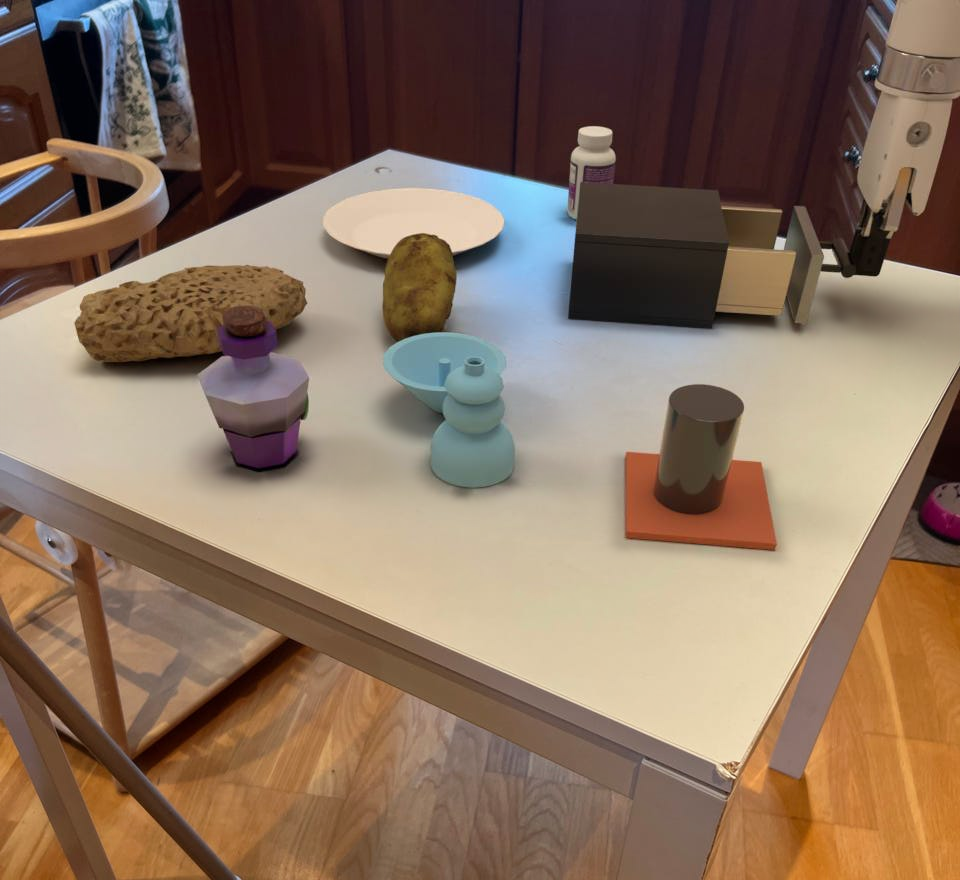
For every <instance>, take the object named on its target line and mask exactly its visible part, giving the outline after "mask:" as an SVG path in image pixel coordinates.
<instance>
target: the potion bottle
mask: <svg viewBox="0 0 960 880" xmlns="http://www.w3.org/2000/svg"><path fill="white" fill-rule="evenodd" d="M222 319H223V323H224V325H222V326H221V327H219V328H218V329H217V334H218V340H219V345H220V347H221V350H222V355H221V356H220V357H219V358H217V359H216V360H215V361H214V362H212V363H211V364H210V365H208V366H207V367H206V368H204V369H202V371H199V373H197V378H198V381H199V383H200V386H201V388H202V391H203V393H204V396H205V398H206V401H207V403H208V405H209V407H210V410H211V412H212V414H213V417H214V419H215V422H216V424H217V426H218V429H222V431H223V433H224V435H225V438H226V440H227V442H228V444H229V447H230V449H231V451H230V455H231V457H232V460H233V462H234V465H235V467H238V468H239V467H240V468H243V469H245V470H246V469H247V470H250V471H253V472H257V473H261V472H266V471H272V470H276V469H277V470H278V469H282V468H286V467H287V466H288V465H289V464H290V463H291V462H293V460H294V459H295V458H297V456H299V455H300V452H299V451H298V442H299V433H300V426H301V421H305V420H306V419H307V417H308V414H309V407H310V406H309V405H310V404H309V403H310V402H309V401H310V400H309V393H308V391H309V390H308V389H309V382H310V377H309V374H308V372H307V371H306V369H305V367H304V366H303V363H302V362H301V360H300V358H298V357H294V356H290V355H286V354H282V353H277V352H273V351H274V350H275V349H277V348H278V347H279V344H278V337H277V329H276V330H275V328H274V326H273V325H272V323H271V321H267V320H266V317H265V315H264V314H263V310H262V309H261V308H259V307H257V306H236V307H232V308H230V309H227V310H226V311H225V312H224V313H223V315H222Z"/></svg>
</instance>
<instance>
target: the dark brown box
mask: <svg viewBox="0 0 960 880" xmlns="http://www.w3.org/2000/svg"><path fill="white" fill-rule="evenodd" d="M721 206H722V202H721V199H720V194H719V190H717V189H705V188H703V189H701V188H687V187H686V188H683V187H671V186H669V187H667V186H651V185H636V184H635V185H634V184H618V183H613V184H603V183H586V182H580V191H579V201H578V212H577V220H576V224H575V233H574V247H573V257H572V269H571V279H570V288H569V289H570V290H569V303H568V313H567V319H568V320H581V321H596V322H597V321H598V322H612V323H624V324H625V323H627V324H640V325H656V326H670V327H683V328H685V327H686V328H698V329H713V326H714V321H715V317H716V307H717V302H718V297H719V292H720V287H721V281H722V276H723V271H724V266H725V261H726V256H727V250H728V246H729V241H728V237H727V232H726V227H725V222H724V217H723V212H722V208H721Z"/></svg>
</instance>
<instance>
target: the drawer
mask: <svg viewBox="0 0 960 880" xmlns="http://www.w3.org/2000/svg"><path fill="white" fill-rule="evenodd" d="M721 208H722V212H723V217H724V222H725V227H726V232H727V237H728V241H729V246H728V250H727V256H726V261H725V266H724V271H723V276H722V281H721V287H720V292H719V297H718V302H717V307H716V312H717V313H718V312H719V313H730V314H731V313H732V314H745V315H746V314H747V315H762V316H776V317H777V316H779V317H781V316H782V314H783V310H784V307H785V302H786V298H787V301H788V304H789V308H790V309H789V310H790V312H791V315H792V319H793V322H794V324H805V325H806V324H807V323H808V320H809V316H810V312H811V308H812V306H813V305H812V304H813V300H814V297H815V293H816V289H817V286H818V283H819V278H820V274H821V273H836V274H837V273H839V274H841V276H842V277H843V278H845V279H849V278H852V277H854V276H855V275H854V274H855V272H856V267H855V265H854V263H853V260H852V258H851V256H850V253H849V251H850V250H849V249H848V246H847V244H846V242H845V240H844V239H843V238H842V237H836V238H834V239H833V240H832V241H823V240H819V239H818V236H817V234H816V231H815V229H814V226H813V223H812V221H811V218H810V215H809V212H808V210H807V208H806V206H805V205H803V206H802V205H794V206H793V208H792V213H791V217H790V221H789V225H788V228H787V234H786V238H785V242H784V247H783V249H775V246H776V242H777V238H778V234H779V229H780V225H781V221H782V216H783V210H782V209H779V208H765V207H750V206H749V207H747V206H734V205H733V206H731V205H721ZM823 250H831V251H832V254H833V257H834V259H835V262H836V264H833V263H832V264H831V263H824V259H825V255H824V251H823ZM716 312H715V313H716Z"/></svg>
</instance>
